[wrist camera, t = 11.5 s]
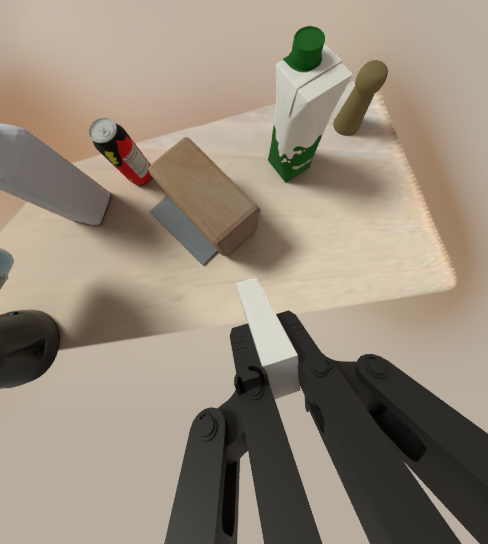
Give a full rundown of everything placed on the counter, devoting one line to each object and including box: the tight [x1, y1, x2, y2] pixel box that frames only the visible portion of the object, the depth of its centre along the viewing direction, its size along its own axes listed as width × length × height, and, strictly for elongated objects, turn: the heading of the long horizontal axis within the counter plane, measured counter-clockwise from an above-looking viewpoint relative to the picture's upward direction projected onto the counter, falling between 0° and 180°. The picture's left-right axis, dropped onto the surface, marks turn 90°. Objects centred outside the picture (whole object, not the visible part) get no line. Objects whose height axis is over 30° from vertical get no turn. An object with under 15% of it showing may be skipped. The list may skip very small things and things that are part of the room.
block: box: [148, 137, 258, 256], centre depth 36 cm, size 10×10×20 cm
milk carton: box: [268, 26, 353, 182], centre depth 33 cm, size 9×9×20 cm
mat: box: [150, 195, 260, 265], centre depth 42 cm, size 18×18×1 cm
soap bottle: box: [0, 123, 110, 225], centre depth 31 cm, size 9×9×25 cm
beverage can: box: [88, 117, 152, 184], centre depth 38 cm, size 6×6×12 cm
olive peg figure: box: [333, 60, 388, 136], centre depth 38 cm, size 6×6×11 cm
